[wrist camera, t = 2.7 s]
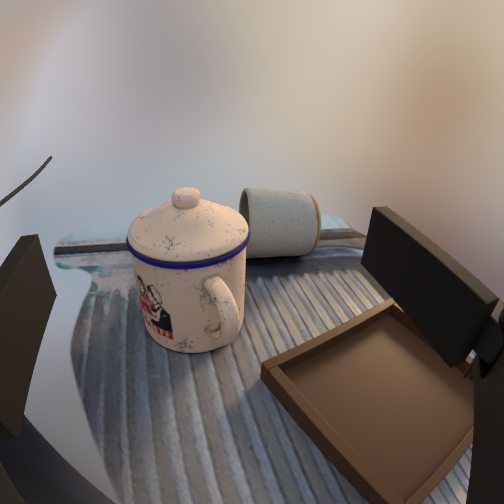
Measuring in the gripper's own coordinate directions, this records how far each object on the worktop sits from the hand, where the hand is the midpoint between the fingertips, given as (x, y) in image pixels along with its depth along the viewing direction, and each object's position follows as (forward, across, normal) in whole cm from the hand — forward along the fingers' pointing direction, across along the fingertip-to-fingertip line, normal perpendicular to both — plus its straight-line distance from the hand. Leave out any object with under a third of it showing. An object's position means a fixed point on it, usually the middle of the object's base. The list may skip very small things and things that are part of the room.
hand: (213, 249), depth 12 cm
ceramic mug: (+22, +10, -14) cm, 28 cm away
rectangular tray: (-1, +13, -14) cm, 18 cm away
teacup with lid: (+10, 0, -14) cm, 17 cm away
